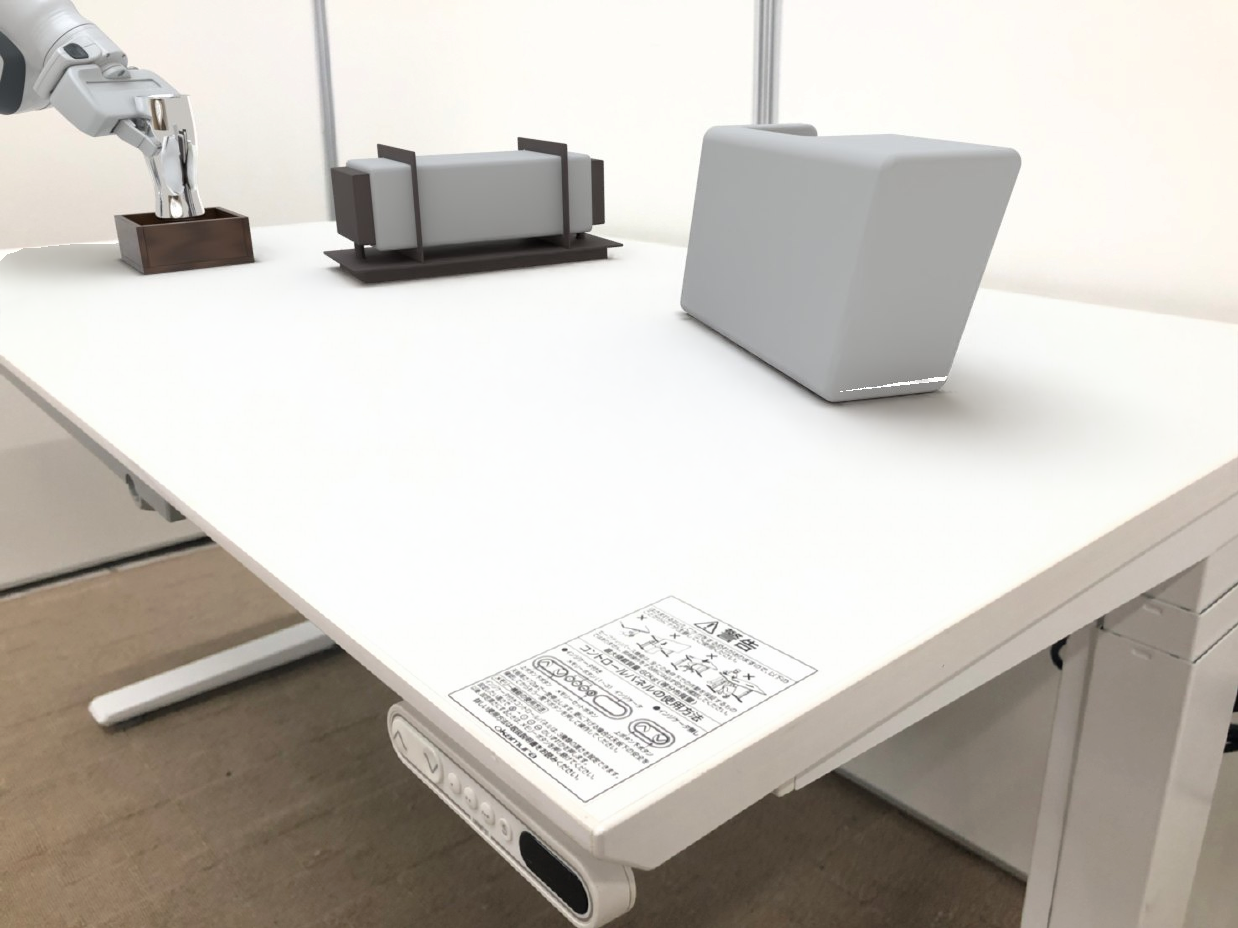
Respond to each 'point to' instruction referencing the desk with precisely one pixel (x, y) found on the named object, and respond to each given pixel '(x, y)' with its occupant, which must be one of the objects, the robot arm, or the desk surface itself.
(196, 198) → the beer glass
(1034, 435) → the desk surface
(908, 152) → the grey tapered block
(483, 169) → the light fixture
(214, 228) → the crate
